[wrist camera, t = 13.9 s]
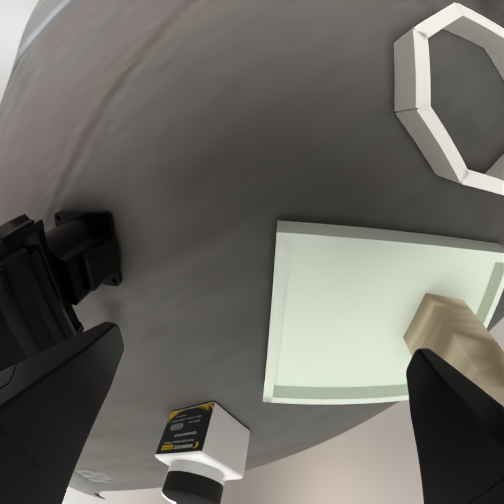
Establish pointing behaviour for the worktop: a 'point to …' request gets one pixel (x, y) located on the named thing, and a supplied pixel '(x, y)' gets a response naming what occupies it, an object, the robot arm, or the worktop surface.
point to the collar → (418, 93)
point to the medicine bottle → (201, 454)
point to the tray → (363, 306)
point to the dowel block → (458, 341)
